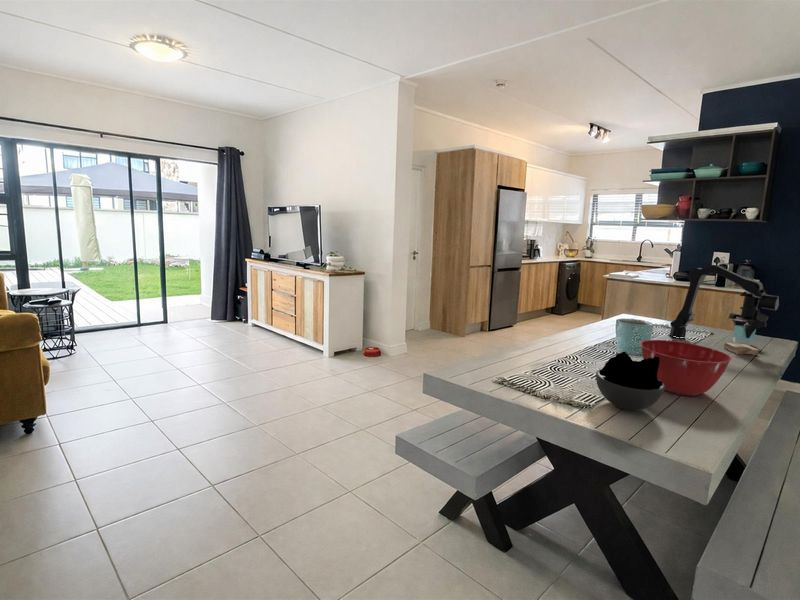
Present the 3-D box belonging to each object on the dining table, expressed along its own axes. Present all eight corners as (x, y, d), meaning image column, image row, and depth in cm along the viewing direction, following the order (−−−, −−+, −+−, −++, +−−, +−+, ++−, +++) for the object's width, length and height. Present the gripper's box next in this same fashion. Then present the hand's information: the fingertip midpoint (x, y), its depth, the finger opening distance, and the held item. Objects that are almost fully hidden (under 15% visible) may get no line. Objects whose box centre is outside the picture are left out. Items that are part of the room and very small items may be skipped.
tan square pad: (736, 354, 216) (737, 348, 216) (723, 348, 226) (725, 342, 225) (757, 355, 215) (759, 349, 215) (744, 349, 225) (745, 344, 225)
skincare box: (751, 344, 238) (756, 316, 235) (752, 347, 232) (758, 318, 229) (732, 341, 242) (737, 314, 239) (733, 343, 237) (739, 316, 234)
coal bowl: (582, 404, 143) (590, 350, 140) (605, 390, 157) (613, 340, 154) (648, 427, 129) (659, 367, 126) (667, 409, 143) (677, 355, 140)
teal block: (740, 339, 217) (743, 328, 216) (732, 336, 223) (735, 325, 222) (753, 340, 216) (756, 329, 215) (745, 337, 222) (747, 326, 221)
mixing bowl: (617, 378, 171) (623, 340, 168) (669, 372, 181) (675, 337, 178) (686, 408, 145) (694, 364, 142) (741, 400, 155) (750, 359, 152)
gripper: (781, 311, 206) (774, 342, 209) (754, 303, 225) (748, 333, 228) (756, 309, 207) (749, 340, 210) (731, 302, 226) (725, 331, 229)
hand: (743, 336), depth 219 cm, fingers closed on teal block, 6 cm apart
